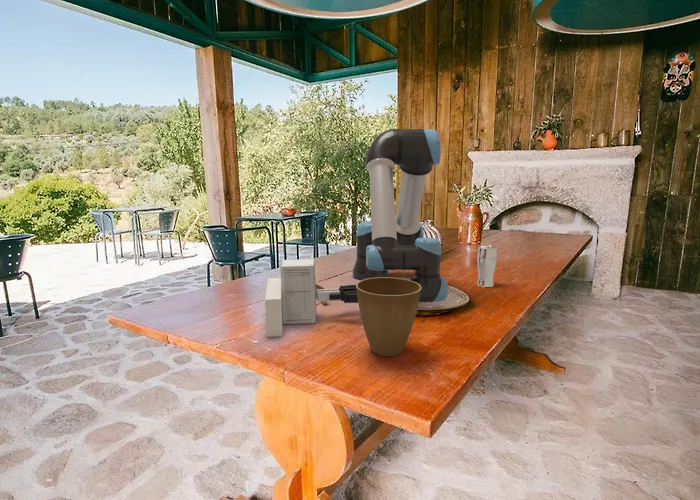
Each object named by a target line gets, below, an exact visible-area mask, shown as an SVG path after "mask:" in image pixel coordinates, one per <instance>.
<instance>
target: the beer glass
mask: <svg viewBox="0 0 700 500" xmlns="http://www.w3.org/2000/svg"><path fill="white" fill-rule="evenodd" d="M477 247H478V249H477V254H476V255H477V256H476V263H477V271H478V279H477V282H476V286H477V285H478V287H479V286H481V287H480V288H485V287H491V288H493V287H494V285H495V284H494V283H495V282H494V273H495V271H496V270H495V269H496V266H497V260H498V259H497V258H498V256H497V255H498V253H497V252H498V249H497V248H498V247H497V246H495V245H494V246H493V245H479V246H477Z"/></svg>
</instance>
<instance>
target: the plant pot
mask: <svg viewBox="0 0 700 500" xmlns="http://www.w3.org/2000/svg"><path fill="white" fill-rule="evenodd" d="M355 285H356V290H357V297H358V303H357V304H358V308H359V313H360V317H361V322H362V325H363V329H364V334H365V337H366V338H367V341H368V344H369V345H368V346H369V347H370V350H371V351H372V353H374V354H375V355H377V356H381V357H387V356H392V357H395V356H396V355H397V356H400V355H401V354H402V353H403V351H404V348H405V346H406V344H407V342H408V340H409V337H410V334H411V331H412V328H413V326H414V322H415V319H416V315H417V312H418V307H419V304H420V303H419V298H420V293H421V285H419V284H418V283H416V282H414V281H410V280H406V279H401V278H399V277H390V276H389V277H377V278H369V279H364V280H359V281H358V282H356V283H355Z"/></svg>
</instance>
